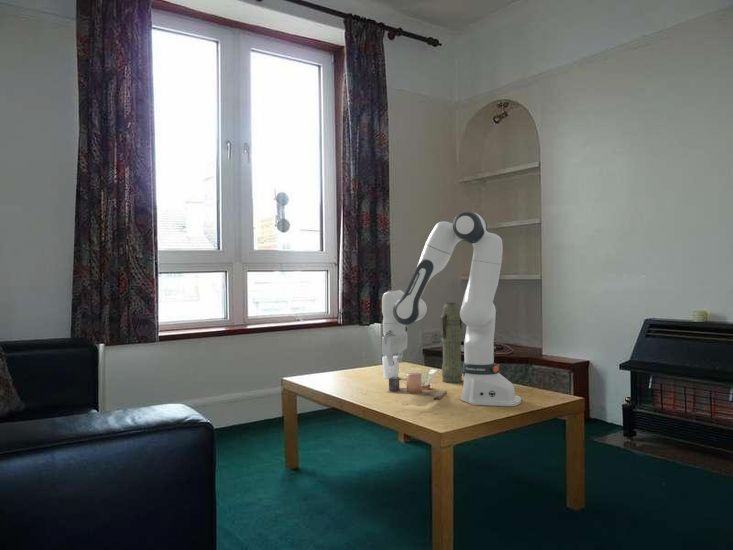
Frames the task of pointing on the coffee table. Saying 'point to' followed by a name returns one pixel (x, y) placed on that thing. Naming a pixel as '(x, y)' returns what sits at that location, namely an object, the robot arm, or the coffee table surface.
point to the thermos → (451, 343)
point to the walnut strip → (395, 389)
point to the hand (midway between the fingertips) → (395, 363)
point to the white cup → (390, 367)
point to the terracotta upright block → (414, 382)
